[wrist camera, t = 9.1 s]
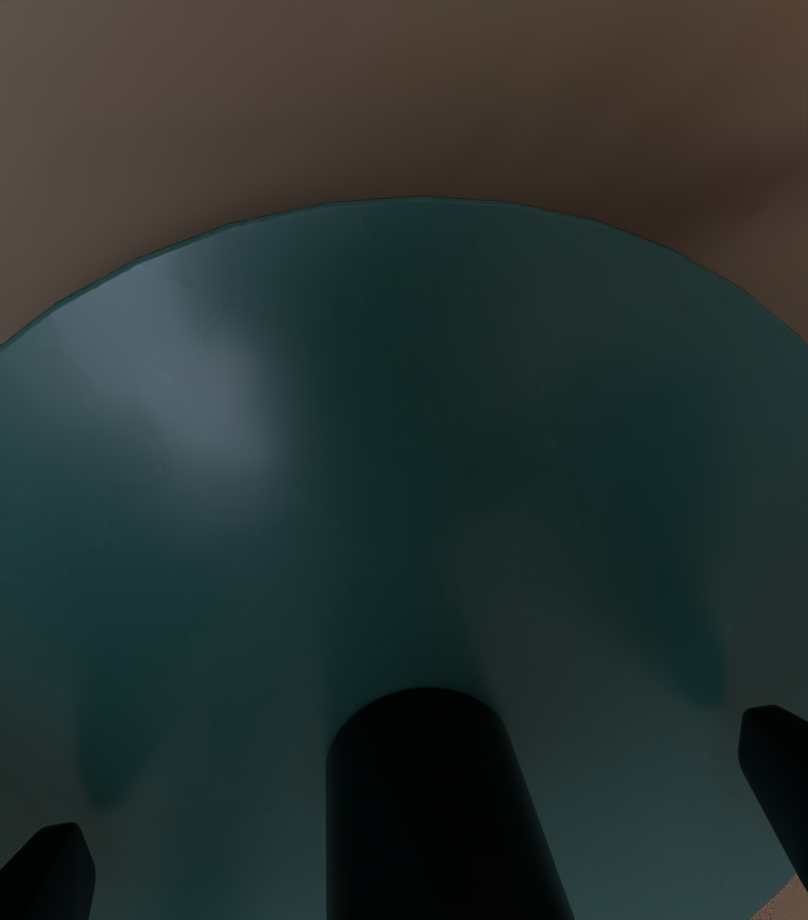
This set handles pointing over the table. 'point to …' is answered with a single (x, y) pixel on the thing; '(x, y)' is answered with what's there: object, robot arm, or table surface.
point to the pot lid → (403, 571)
